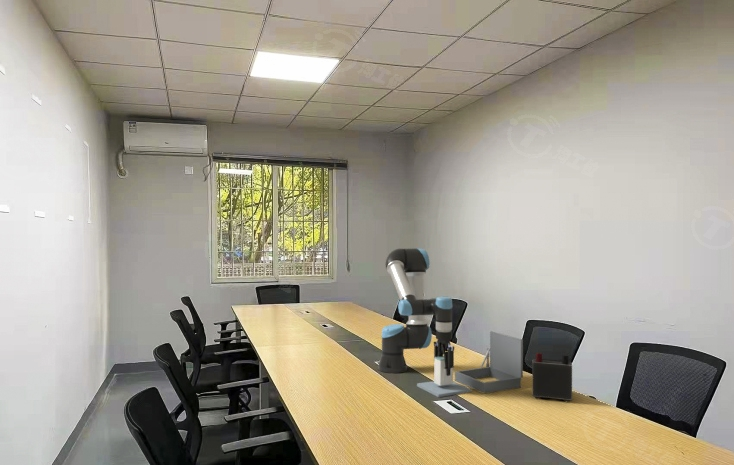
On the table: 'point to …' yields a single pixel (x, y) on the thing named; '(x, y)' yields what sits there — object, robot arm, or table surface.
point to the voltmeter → (552, 378)
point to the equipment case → (497, 366)
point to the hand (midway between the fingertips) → (443, 380)
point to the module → (441, 371)
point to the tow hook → (487, 360)
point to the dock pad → (443, 389)
